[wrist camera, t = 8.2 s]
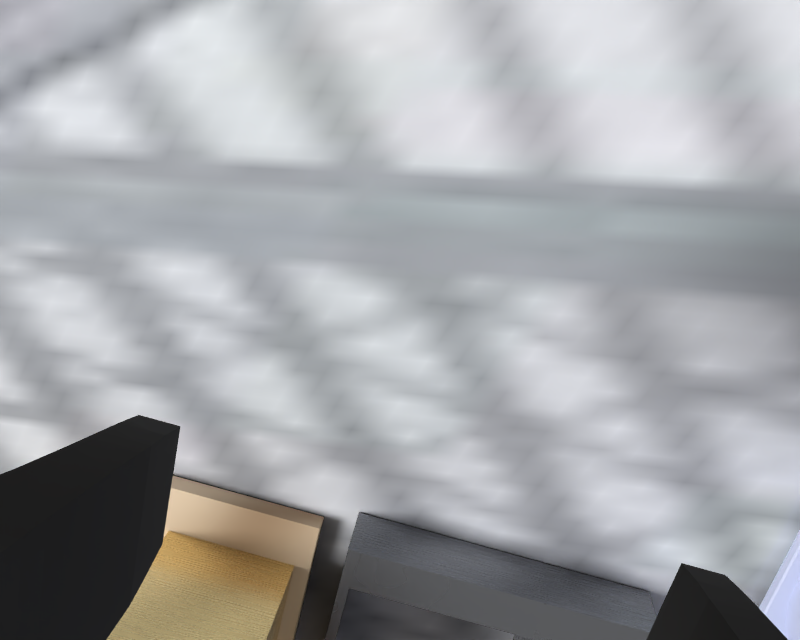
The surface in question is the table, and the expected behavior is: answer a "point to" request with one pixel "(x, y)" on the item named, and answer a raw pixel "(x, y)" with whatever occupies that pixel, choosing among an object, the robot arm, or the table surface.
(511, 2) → the table surface
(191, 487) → the coaster
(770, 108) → the table surface
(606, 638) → the grey square frame
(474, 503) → the table surface
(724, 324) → the table surface
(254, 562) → the brushed brass bar
